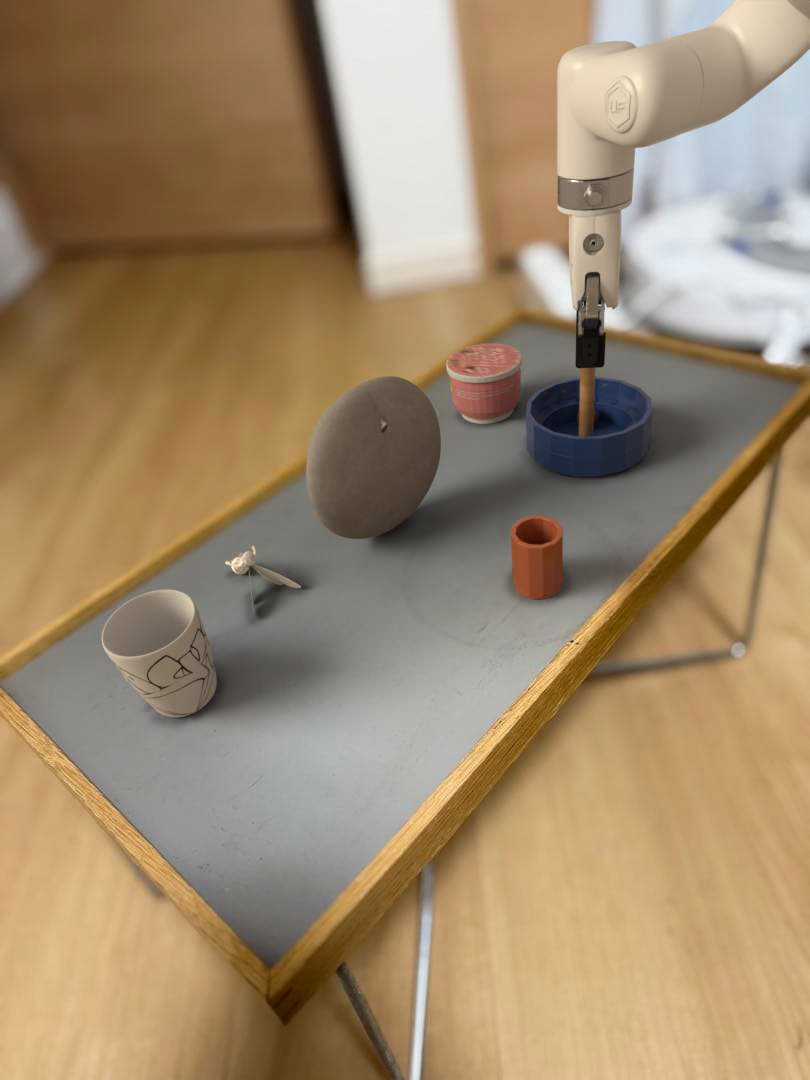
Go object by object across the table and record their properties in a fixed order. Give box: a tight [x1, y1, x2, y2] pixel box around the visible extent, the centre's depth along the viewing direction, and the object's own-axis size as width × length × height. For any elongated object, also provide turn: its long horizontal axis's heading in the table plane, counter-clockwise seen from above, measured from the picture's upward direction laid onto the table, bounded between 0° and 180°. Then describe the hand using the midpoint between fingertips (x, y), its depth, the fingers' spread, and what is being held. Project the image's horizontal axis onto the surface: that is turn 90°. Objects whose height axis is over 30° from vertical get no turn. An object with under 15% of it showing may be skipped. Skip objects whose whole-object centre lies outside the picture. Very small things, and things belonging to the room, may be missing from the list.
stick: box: [579, 306, 597, 436], centre depth 86 cm, size 2×2×18 cm
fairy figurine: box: [225, 545, 302, 615], centre depth 79 cm, size 6×7×7 cm
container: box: [445, 342, 523, 425], centre depth 100 cm, size 10×10×8 cm
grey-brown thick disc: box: [305, 375, 442, 540], centre depth 78 cm, size 18×7×19 cm, turn 132°
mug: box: [101, 588, 218, 719], centre depth 66 cm, size 11×8×10 cm
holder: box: [510, 515, 564, 600], centre depth 71 cm, size 5×5×7 cm
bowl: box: [525, 376, 654, 477], centre depth 90 cm, size 15×15×6 cm
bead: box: [577, 407, 600, 427], centre depth 93 cm, size 3×3×3 cm
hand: (589, 351), depth 83 cm, fingers open, 6 cm apart
